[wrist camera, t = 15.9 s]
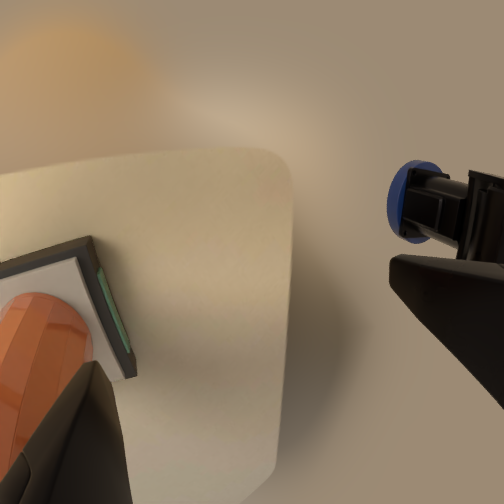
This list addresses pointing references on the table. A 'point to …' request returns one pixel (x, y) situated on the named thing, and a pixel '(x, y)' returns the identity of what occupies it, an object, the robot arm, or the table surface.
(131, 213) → the table surface
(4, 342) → the cup
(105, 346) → the scale
